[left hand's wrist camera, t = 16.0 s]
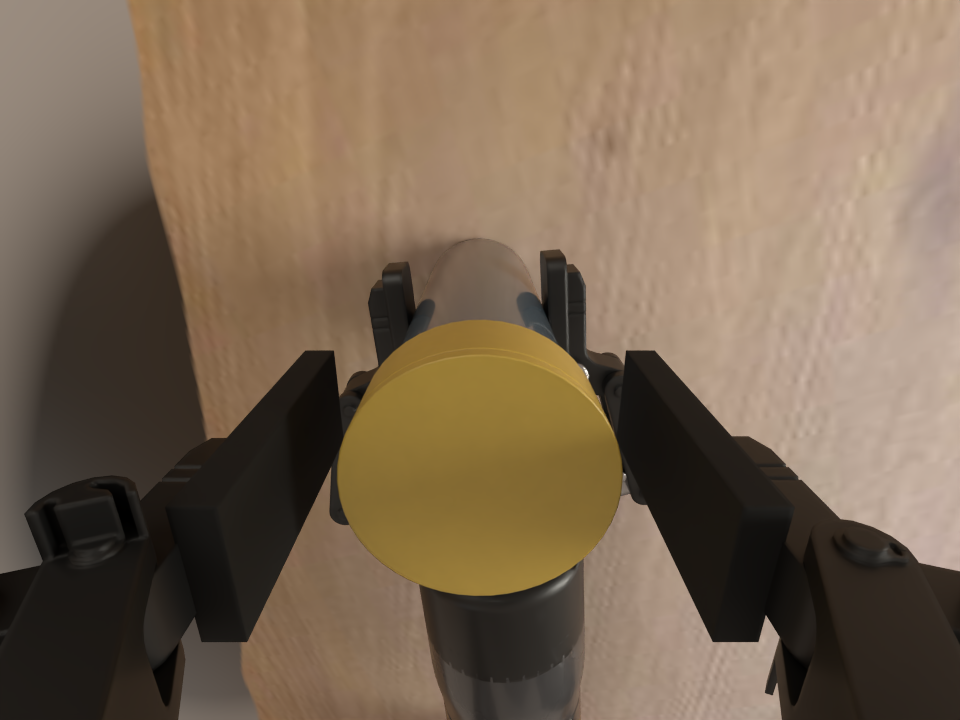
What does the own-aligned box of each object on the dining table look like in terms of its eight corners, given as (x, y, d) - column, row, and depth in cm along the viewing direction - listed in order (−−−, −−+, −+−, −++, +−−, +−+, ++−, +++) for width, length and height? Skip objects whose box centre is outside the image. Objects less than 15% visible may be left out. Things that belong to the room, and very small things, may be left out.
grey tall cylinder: (461, 218, 24) (432, 310, 10) (550, 272, 25) (646, 430, 11) (411, 307, 26) (323, 501, 11) (497, 355, 27) (517, 591, 12)
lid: (319, 464, 13) (288, 523, 11) (438, 269, 11) (428, 295, 9) (512, 562, 14) (518, 632, 12) (649, 400, 12) (683, 450, 10)
